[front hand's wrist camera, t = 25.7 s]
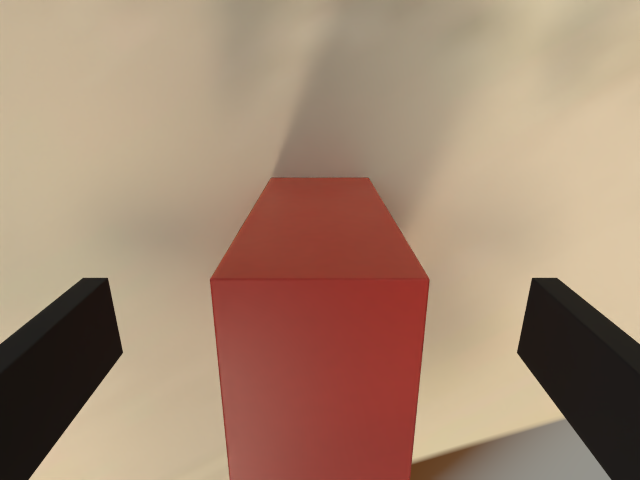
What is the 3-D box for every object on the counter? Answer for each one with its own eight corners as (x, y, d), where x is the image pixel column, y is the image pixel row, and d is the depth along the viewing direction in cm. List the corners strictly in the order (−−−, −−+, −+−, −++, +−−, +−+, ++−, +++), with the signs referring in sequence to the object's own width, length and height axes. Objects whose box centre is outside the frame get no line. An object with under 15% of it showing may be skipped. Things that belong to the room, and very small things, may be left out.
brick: (368, 177, 19) (430, 278, 9) (363, 300, 22) (407, 504, 11) (270, 177, 19) (209, 279, 9) (275, 300, 22) (231, 504, 11)
